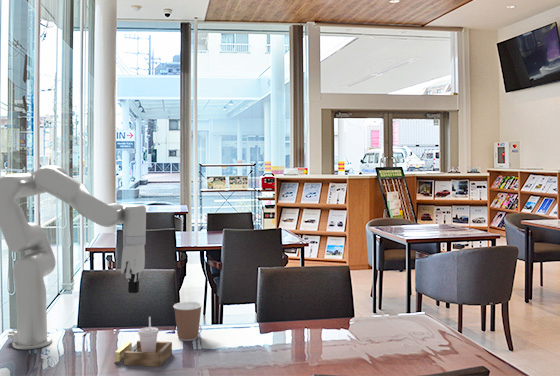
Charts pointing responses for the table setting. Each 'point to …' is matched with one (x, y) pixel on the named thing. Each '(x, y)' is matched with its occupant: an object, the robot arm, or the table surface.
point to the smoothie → (148, 338)
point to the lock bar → (122, 351)
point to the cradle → (147, 355)
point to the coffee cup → (187, 320)
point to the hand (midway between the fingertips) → (133, 292)
